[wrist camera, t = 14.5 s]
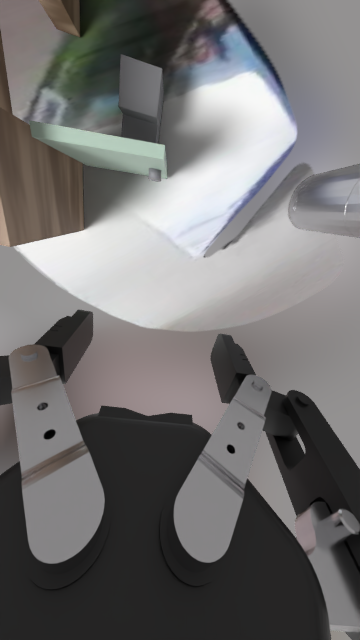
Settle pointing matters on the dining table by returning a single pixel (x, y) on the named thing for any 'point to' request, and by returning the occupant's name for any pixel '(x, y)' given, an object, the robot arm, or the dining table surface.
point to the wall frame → (37, 164)
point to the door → (105, 150)
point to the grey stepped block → (140, 99)
